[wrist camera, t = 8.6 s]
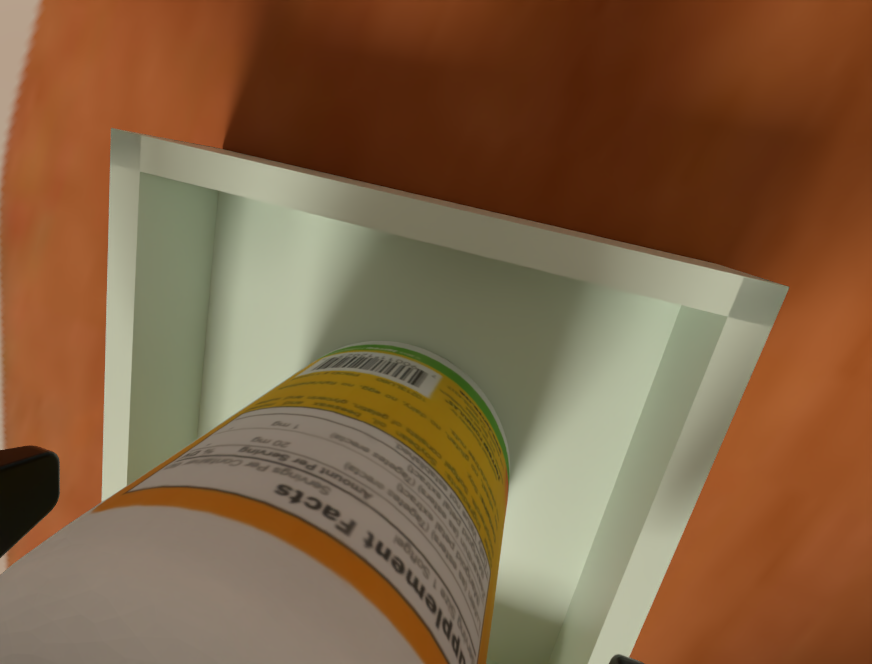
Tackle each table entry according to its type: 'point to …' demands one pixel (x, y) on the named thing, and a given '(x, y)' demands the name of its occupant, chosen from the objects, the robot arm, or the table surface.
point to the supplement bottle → (290, 532)
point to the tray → (448, 338)
